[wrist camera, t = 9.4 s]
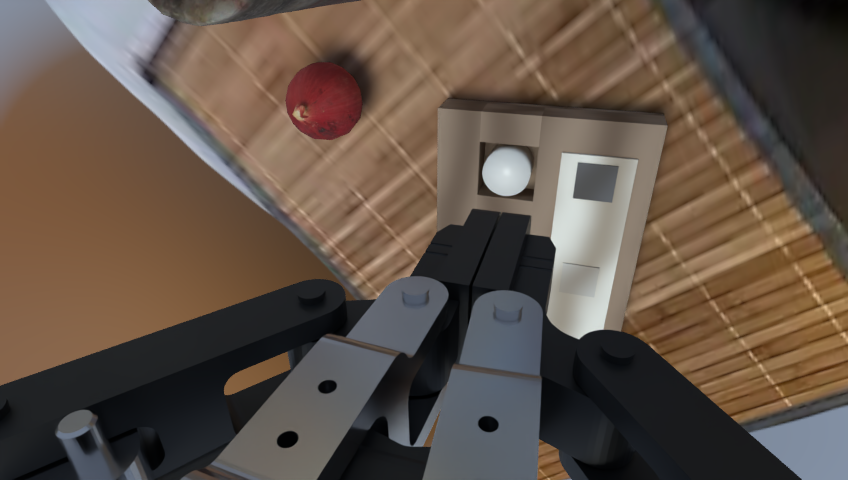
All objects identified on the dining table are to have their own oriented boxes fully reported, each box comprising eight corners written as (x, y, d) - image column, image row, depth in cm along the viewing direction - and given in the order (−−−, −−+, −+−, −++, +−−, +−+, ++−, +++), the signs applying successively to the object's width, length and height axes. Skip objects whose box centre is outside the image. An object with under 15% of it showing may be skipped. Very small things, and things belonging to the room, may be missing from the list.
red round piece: (388, 110, 44) (348, 140, 37) (334, 134, 46) (288, 166, 40) (355, 43, 42) (308, 61, 35) (301, 71, 44) (247, 94, 38)
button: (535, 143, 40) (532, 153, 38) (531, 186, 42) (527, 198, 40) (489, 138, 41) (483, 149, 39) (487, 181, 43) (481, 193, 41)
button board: (663, 113, 37) (668, 126, 35) (604, 381, 50) (604, 406, 47) (448, 98, 42) (436, 109, 39) (443, 349, 54) (435, 370, 52)
